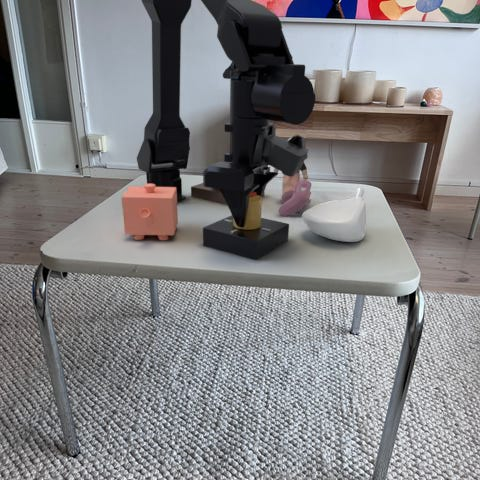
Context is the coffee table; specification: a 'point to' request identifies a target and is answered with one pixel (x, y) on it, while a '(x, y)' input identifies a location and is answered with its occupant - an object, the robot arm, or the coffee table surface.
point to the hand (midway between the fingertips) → (246, 222)
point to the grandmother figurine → (292, 179)
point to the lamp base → (207, 193)
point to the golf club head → (339, 218)
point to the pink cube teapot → (150, 211)
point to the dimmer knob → (252, 213)
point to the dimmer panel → (245, 237)
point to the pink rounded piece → (295, 198)
